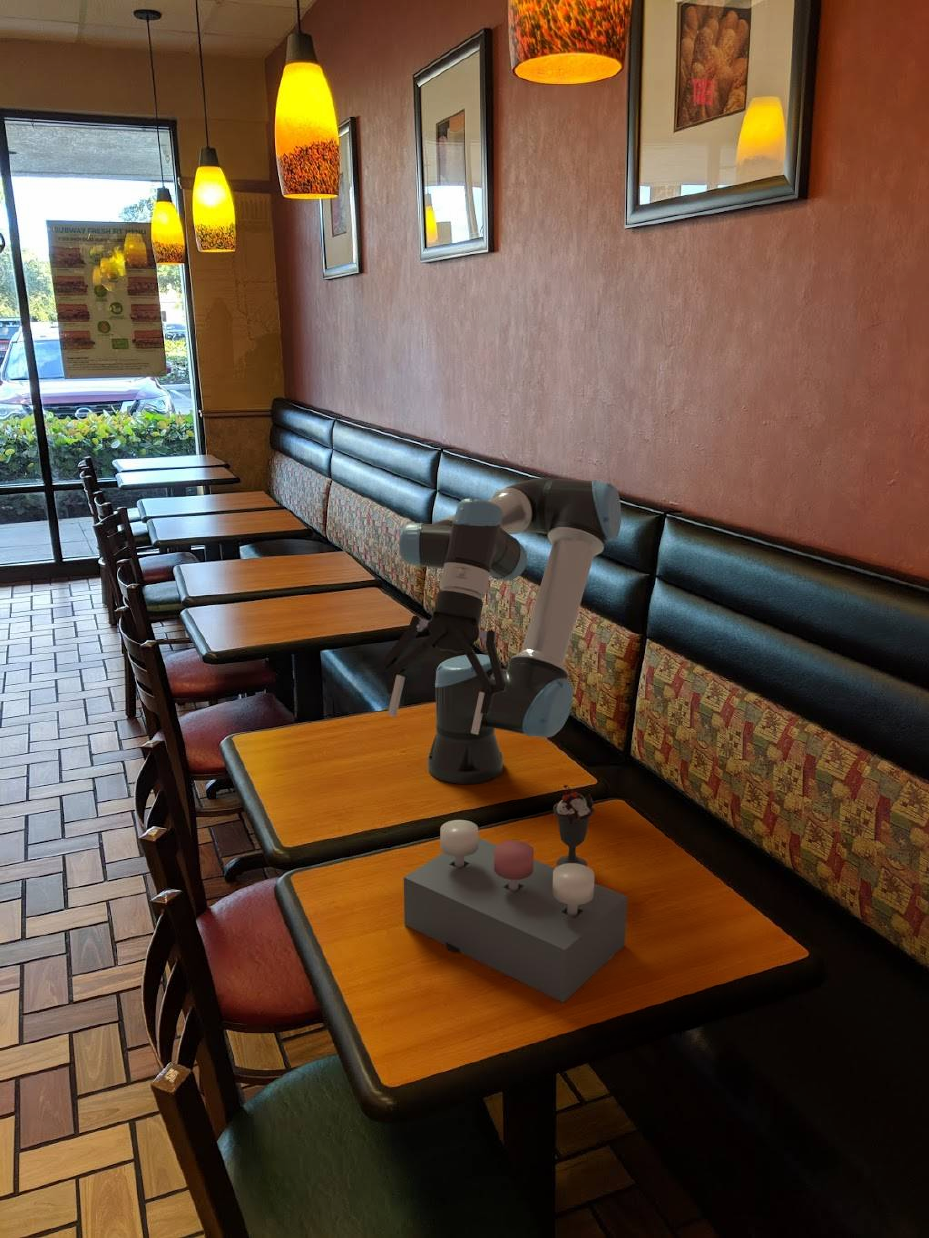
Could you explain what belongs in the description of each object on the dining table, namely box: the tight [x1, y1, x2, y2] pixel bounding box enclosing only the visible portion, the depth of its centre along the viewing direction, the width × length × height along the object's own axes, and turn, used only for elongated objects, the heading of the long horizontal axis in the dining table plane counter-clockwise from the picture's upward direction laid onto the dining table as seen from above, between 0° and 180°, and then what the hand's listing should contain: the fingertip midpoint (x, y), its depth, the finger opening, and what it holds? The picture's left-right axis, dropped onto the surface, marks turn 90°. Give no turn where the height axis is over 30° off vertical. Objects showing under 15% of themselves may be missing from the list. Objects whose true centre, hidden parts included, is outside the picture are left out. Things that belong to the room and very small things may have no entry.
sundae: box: [552, 784, 595, 867], centre depth 158 cm, size 7×7×15 cm
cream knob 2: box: [552, 863, 595, 918], centre depth 133 cm, size 6×6×8 cm
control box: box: [403, 837, 628, 1003], centre depth 140 cm, size 16×28×8 cm, turn 51°
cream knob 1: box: [439, 819, 479, 869], centre depth 145 cm, size 6×6×8 cm
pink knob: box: [494, 840, 535, 892], centre depth 139 cm, size 6×6×8 cm
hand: (432, 725), depth 153 cm, fingers open, 13 cm apart
